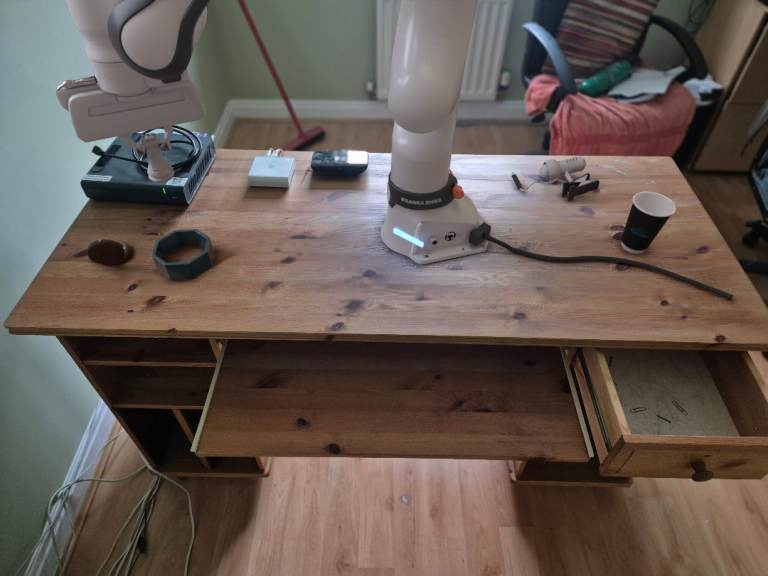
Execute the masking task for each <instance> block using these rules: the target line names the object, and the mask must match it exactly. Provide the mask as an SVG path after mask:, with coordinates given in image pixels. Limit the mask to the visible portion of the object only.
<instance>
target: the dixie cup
mask: <svg viewBox="0 0 768 576" xmlns="http://www.w3.org/2000/svg"><path fill="white" fill-rule="evenodd" d="M676 211H677V206H676V204H675V202H674V201H673V200H672V199H671V198H669V197H668V196H666V195H664V194H661V193H658V192H655V191H640V192H637V193H635V194H634V195H633V197H632V203H631V207H630V209H629V214H628V217H627V219H626V223H625V226H624V229H623V232H622V235H621V238H620V239H621V241H620V245H621V247H622V248H623V250H625V251H627V252H628V253H631V254H636V255H639V254H643V253H644V252H645V251H646V250H647V249H648V248H649V247H650V246H651V244H652V243H653V242H654V240H655V239H656V237H657V236H658V234H659V233H660V232H661V230H663V227H664V226H665V225H666V223H667V222H668V221H669V219H670V218H671V216H672V215H674V214H675V213H676Z"/></svg>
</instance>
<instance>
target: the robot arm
mask: <svg viewBox="0 0 768 576" xmlns="http://www.w3.org/2000/svg"><path fill="white" fill-rule="evenodd" d="M210 1H211V0H65V2H66V5H67V8H68V11H69V13H70V16H71V19H72V21H73V24H74V26H75V28H76V29H77V30H78V32H79V33H80V35H81V37H82V39H83V42H84V47H85V48H84V49H85V55H86V57H87V60H88V62H89V65H90V67H91V69H92V72H93V74H94V75H91V76H86V77H82V78H77V79H67V80H64V81H62V84H60V85H58V86H57V88H56V91H55V95H56V97H57V100H58V102H59V104H60V106H61V107H62V108H63V109H64V110H66V111H67V112H68V113H69V116H70V121H71V124H72V127H73V130H74V132H75V135H76V138H77V139H79V140H80V141H82V142H83V143H91V142H96V141H102V140H107V139H111V138H116V137H120V139H121V142H123V143H124V144H125V145H126V146H127V147H129V148H130V149H131V150H132V151H133V153H134V156H135V158H137V157H142V156H146V155H145V154H146V153H145V151H144V148H143V146H142V145H141V144H140V141H138V142H135V141H134V140H133V139H132V137H131V134H137V133H141V132H147V131H151V130H156V129H157V130H158V129H161V128H163V131H164V135H163V136H162V137H158V138H159V139H160V142H159V143H160V146H161V149H162V150H163V152H165V151H170V150H173V147H172V143H171V140H172V137H173V134H174V127H173V126H177V125H181V124H187V123H190V122H191V123H192V122H196V121H202V120H203V119H205V117H206V115H207V109H206V106H205V102H204V100H203V97H202V95H201V93H200V91H199V88H198V86H197V85H196V83H195V81H194V79H193V78H192V76H191V75H190V74H189V70H188V67H189V64H190V62H191V60H192V56H193V53H194V51H195V49H196V47H197V44H198V43H199V41H200V39H201V37H202V35H203V33H204V31H205V28H206V26H207V24H208V20H209V11H208V5H209V3H210ZM478 3H479V0H401V2H400V8H399V13H398V19H397V20H398V21H397V25H396V31H395V36H394V43H393V48H392V49H393V51H392V54H391V55H392V56H391V63H390V69H389V76H388V83H387V85H388V86H387V107H388V111H389V114H390V116H391V118H392V119H393V122H394V123H393V130H392V135H391V154H390V171H389V173H388V178H387V183H386V184H387V186H386V200H387V208H386V214H385V217H384V220H383V223H382V225H381V229H380V237H381V240H382V242H383V243H384V244H385V246H386V247H387V248H388V249H390V250H392V251H393V252H395V253H397V254H399V255H403V256H405V257H408V258H409V259H410V260H412V261H413V262H414V263H416V264H418V265H428V264H431V263H436V262H442V261H445V260H451V259H455V258H456V259H457V258H460V257H465V256H470V255H475V254H479V253H483V252H486V251H487V249H488V246H489V242H490V243H492V244H495V245H497V246H499V247H501V248H503V249H505V250H507V251H509V252H511V253H514V254H517V255H519V256H523V257H527V258H531V259H535V260H541V261H547V262H555V263H556V262H557V263H575V262H587V261H589V262H590V261H594V262H609V263H616V264H625V265H629V266H633V267H638V268H642V269H646V270H649V271H652V272H655V273H658V274H660V275H661V274H662V275H664V276H666V277H670V278H672V279H674V280H677V281H680V282H683V283H686V284H688V285H691V286H694V287H695V288H699V289H702V290H704V291H707V292H710V293H712V294H714V295H717V296H719V297H722V298H725V299H726V300H727V299H728V300H733V298H734V294H731V293H728V292H726V291H723V290H721V289H718V288H716V287H713V286H711V285H709V284H708V285H707V284H705V283H703V282H700V281H698V280H695V279H692V278H690V277H688V276H687V277H686V276H683V275H681V274H679V273H675V272H673V271H669V270H667V269H666V268H665V269H664V268H662V267H659V266H656V265H652V264H649V263H646V262H642V261H638V260H633V259H628V258H622V257H615V256H605V255H604V256H603V255H579V256H555V255H554V256H552V255H546V254H545V255H544V254H539V253H533V252H530V251H526V250H523V249H519V248H517V247H514V246H512V245H510V244H508V243H507V242H505V241H502V240H500V239H498V238H495V237H493V236H491V231H492V225H490V224H488V223H486V222H484V220H483V218H482V217H481V216H480V214H479V211H478V209H477V206H476V205H475V203H474V201H473V200H472V198H470V196H468V195H467V194H465V191H464V189H463V187H462V186H461V185H459V181H458V178H457V176H455V175H454V173H453V171H452V169H451V163H452V155H453V148H454V147H453V146H454V140H455V134H456V127H457V120H458V113H459V107H460V100H461V94H462V87H463V78H464V72H465V66H466V61H467V56H468V52H469V47H470V43H471V37H472V32H473V28H474V22H475V17H476V13H477V7H478Z"/></svg>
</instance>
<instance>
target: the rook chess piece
mask: <svg viewBox="0 0 768 576" xmlns="http://www.w3.org/2000/svg"><path fill="white" fill-rule="evenodd" d="M159 138H160V137H158V136H157V134H156V133H155V132H150V134H149V132H145V134H142V135H140V141H139V142H140V144H141V146H142V148H143V147H144V149H143V151H144V154H146V156H147V161H148V165H147V169H146V171H147V174H148V179H149V180H151V181H152V182H154V183H157V184H159V183H160V184H161V183H166V182H168V181H171V180H172V179H173V178H174V176H175V171H174V168H173V165H171V163H169V161H168V160H166V158H165V156H164V155H163V152H162V145H160V143H161V142H160V139H159Z"/></svg>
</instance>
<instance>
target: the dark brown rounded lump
mask: <svg viewBox="0 0 768 576" xmlns="http://www.w3.org/2000/svg"><path fill="white" fill-rule="evenodd" d="M129 245H130V244H128V243H126V242H123V241H116V240H112V239H107V238H106V239H105V238H104V239H102V237H99V239H98V240H94V241H92V242H91V243H90V244H88V246H87V248H86V256H85V258H86V259H87V260H90V261H91V262H92V263H95V264H97V265H102V266H112V265H116V264H120V263H122V262H124V261H126V259H128V258H129V257H130V255H131V253H132V249H131V247H130V246H129Z"/></svg>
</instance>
